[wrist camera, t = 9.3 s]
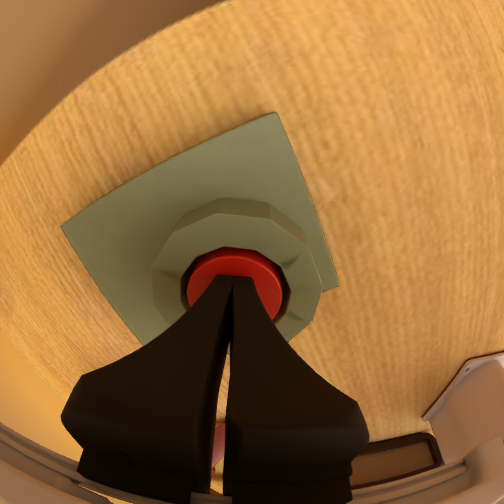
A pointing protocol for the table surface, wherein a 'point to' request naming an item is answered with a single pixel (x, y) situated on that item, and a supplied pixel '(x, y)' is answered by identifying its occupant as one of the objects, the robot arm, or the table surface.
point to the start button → (238, 274)
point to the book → (395, 460)
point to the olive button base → (206, 228)
